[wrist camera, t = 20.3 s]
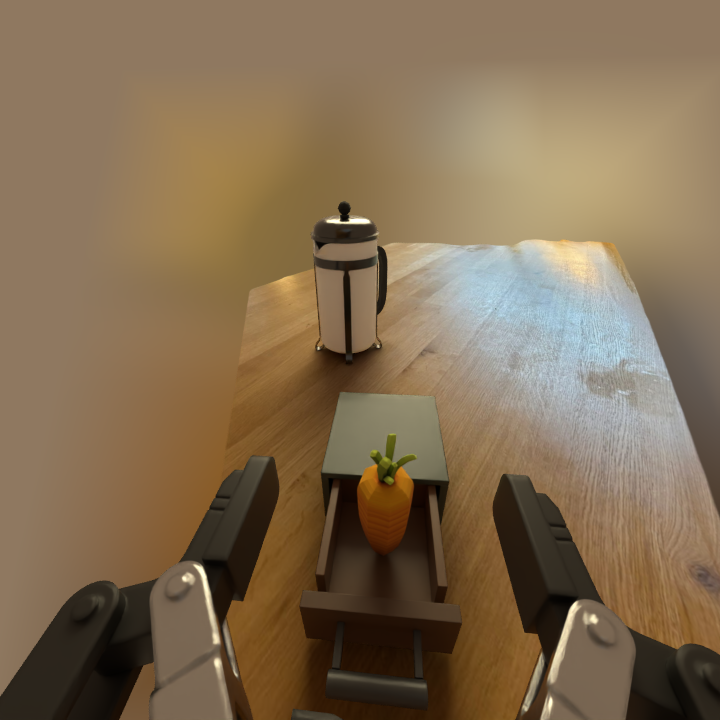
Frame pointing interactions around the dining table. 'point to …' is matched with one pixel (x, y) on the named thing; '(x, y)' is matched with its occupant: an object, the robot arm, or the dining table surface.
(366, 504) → the carrot
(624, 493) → the dining table surface
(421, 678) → the drawer
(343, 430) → the cabinet
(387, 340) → the dining table surface
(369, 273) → the coffee press
